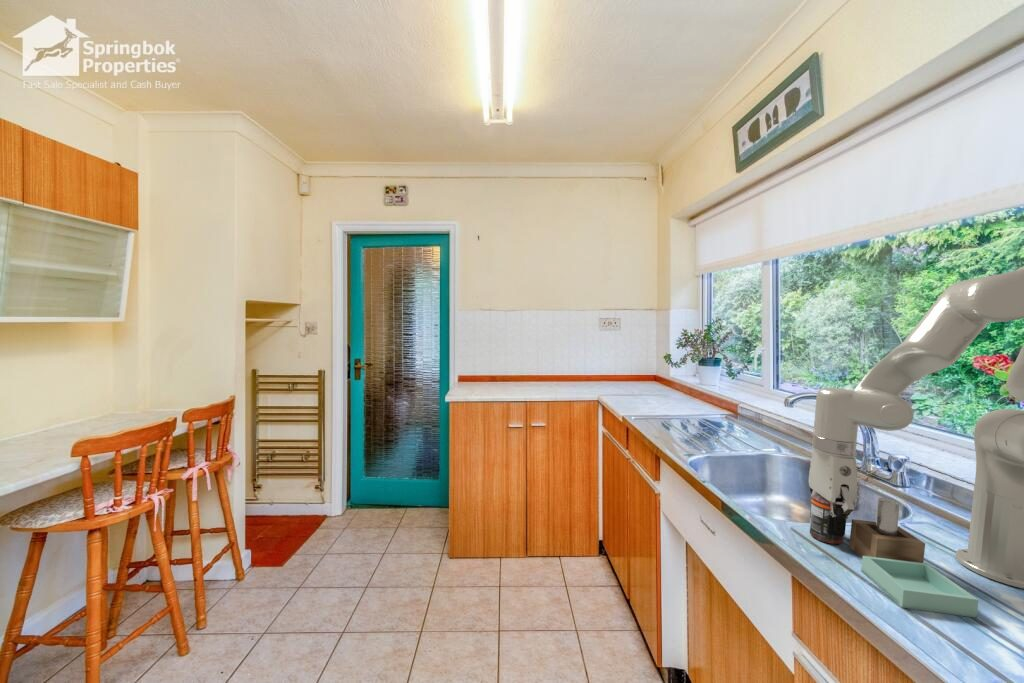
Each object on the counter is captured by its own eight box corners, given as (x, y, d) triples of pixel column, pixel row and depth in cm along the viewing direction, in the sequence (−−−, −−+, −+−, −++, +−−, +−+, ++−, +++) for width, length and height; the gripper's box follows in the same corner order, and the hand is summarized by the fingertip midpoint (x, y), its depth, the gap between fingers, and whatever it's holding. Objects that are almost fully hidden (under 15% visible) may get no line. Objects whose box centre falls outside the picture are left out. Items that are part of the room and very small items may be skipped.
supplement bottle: (831, 532, 97) (835, 483, 96) (849, 546, 91) (854, 494, 90) (803, 530, 97) (807, 481, 97) (819, 543, 91) (823, 491, 91)
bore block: (892, 552, 89) (894, 523, 89) (922, 574, 81) (925, 543, 81) (849, 547, 91) (851, 519, 90) (874, 568, 83) (877, 538, 82)
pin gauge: (887, 556, 87) (892, 498, 87) (898, 565, 84) (903, 505, 84) (869, 554, 88) (874, 496, 87) (880, 563, 85) (885, 503, 84)
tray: (924, 579, 80) (926, 563, 80) (976, 617, 69) (978, 599, 69) (861, 571, 82) (862, 555, 81) (902, 607, 71) (903, 589, 71)
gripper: (880, 460, 84) (871, 550, 85) (830, 437, 101) (823, 512, 102) (837, 456, 85) (829, 545, 86) (795, 434, 102) (789, 508, 103)
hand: (826, 526), depth 94 cm, fingers closed on supplement bottle, 6 cm apart
